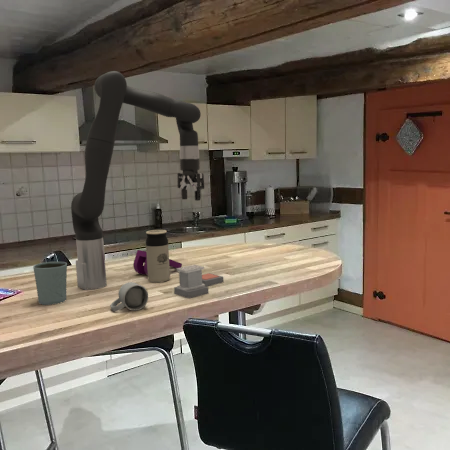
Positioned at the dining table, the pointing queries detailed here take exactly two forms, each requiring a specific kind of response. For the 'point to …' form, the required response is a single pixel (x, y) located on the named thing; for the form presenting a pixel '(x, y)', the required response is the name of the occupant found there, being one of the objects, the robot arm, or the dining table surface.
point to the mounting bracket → (142, 258)
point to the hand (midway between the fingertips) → (191, 199)
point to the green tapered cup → (51, 282)
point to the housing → (190, 277)
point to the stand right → (211, 279)
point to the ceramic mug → (131, 297)
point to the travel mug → (157, 256)
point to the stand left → (191, 292)
